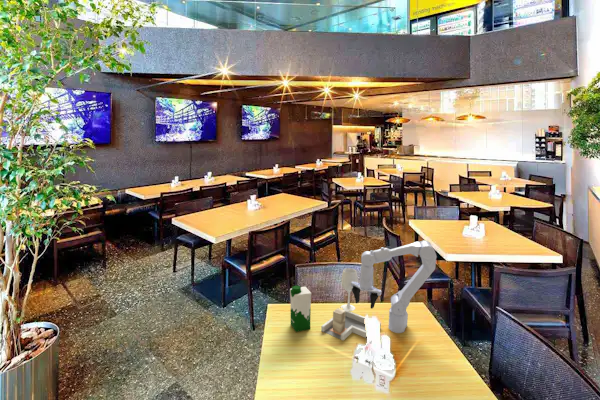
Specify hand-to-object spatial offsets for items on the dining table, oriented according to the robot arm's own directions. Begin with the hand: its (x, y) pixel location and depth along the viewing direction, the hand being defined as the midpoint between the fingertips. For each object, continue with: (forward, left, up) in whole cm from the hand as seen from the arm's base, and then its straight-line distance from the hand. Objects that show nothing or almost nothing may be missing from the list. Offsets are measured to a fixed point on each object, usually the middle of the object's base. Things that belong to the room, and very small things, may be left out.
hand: (364, 305), depth 145 cm
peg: (+12, -7, -9) cm, 16 cm away
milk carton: (+20, -23, -11) cm, 32 cm away
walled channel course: (+8, -3, -10) cm, 13 cm away
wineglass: (-9, -14, -11) cm, 20 cm away
